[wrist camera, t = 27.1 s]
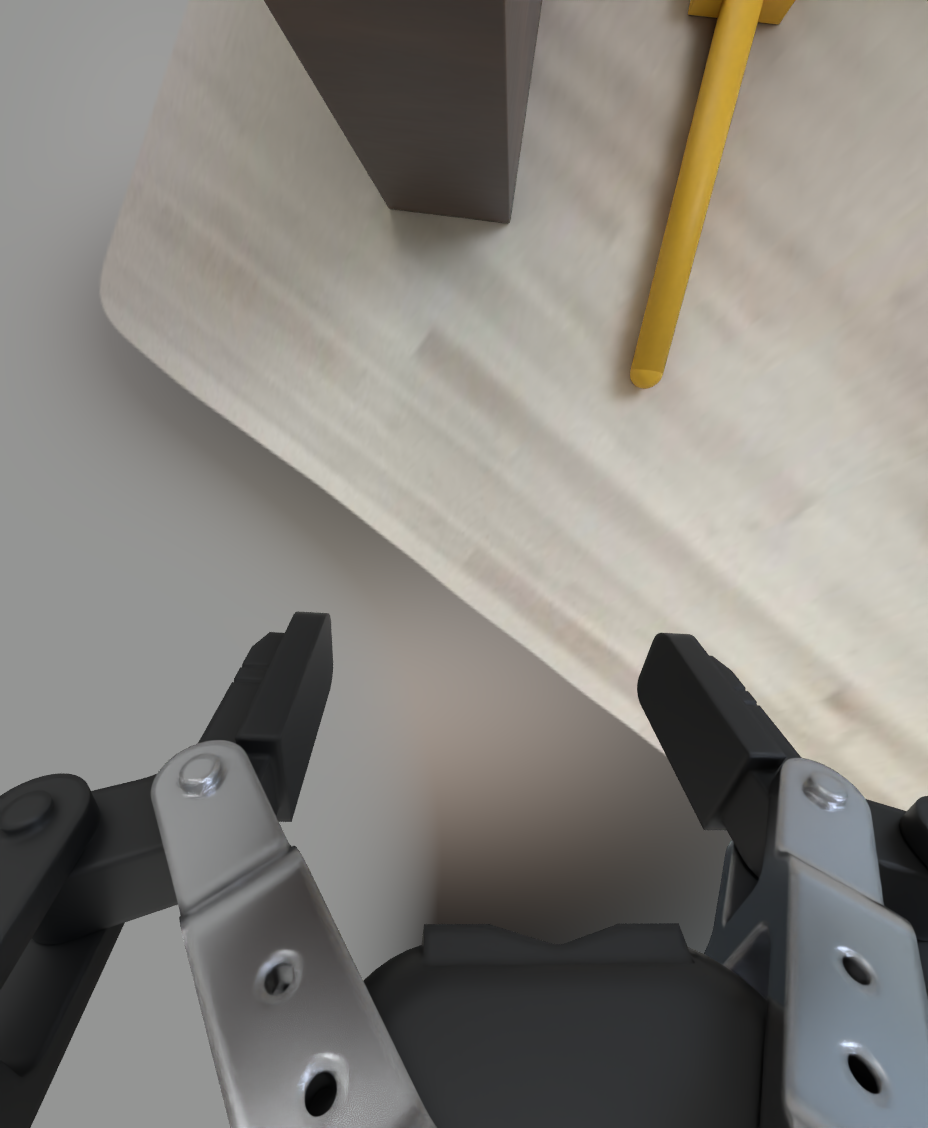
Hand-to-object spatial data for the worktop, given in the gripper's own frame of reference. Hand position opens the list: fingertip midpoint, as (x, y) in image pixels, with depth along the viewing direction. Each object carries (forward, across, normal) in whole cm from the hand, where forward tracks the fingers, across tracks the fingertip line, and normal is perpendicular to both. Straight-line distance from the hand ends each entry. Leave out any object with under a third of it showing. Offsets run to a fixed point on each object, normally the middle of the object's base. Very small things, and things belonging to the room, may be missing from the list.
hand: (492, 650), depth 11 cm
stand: (+25, +1, -18) cm, 31 cm away
